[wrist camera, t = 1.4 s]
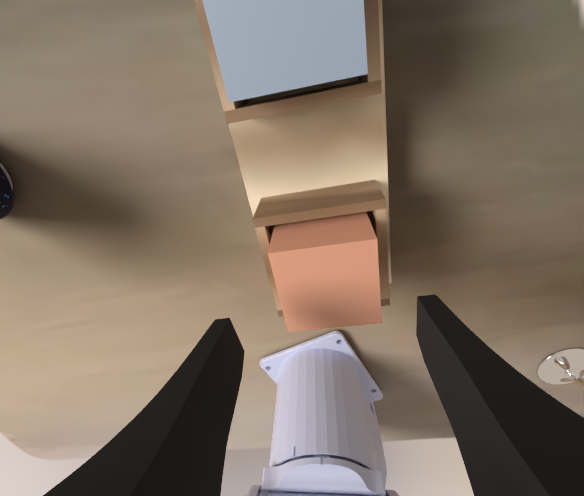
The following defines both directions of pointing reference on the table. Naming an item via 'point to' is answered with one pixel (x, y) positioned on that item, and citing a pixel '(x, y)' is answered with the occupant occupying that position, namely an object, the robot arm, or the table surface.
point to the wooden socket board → (315, 149)
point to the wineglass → (563, 367)
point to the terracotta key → (327, 272)
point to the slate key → (286, 43)
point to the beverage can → (5, 192)
